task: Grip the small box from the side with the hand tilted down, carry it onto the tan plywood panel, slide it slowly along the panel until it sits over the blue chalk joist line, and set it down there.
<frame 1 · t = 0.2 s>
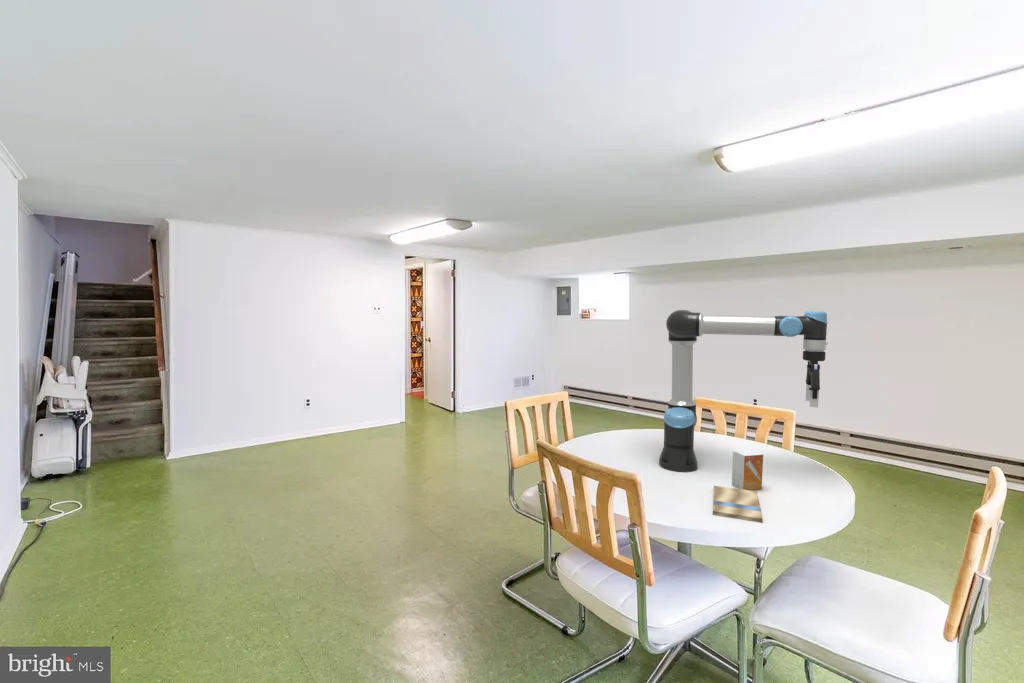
hand: (811, 404, 188), 28 cm above the table, tool pointing down, fingers open, 13 cm apart
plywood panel: (736, 504, 159), on the table
small box: (746, 487, 174), on the table
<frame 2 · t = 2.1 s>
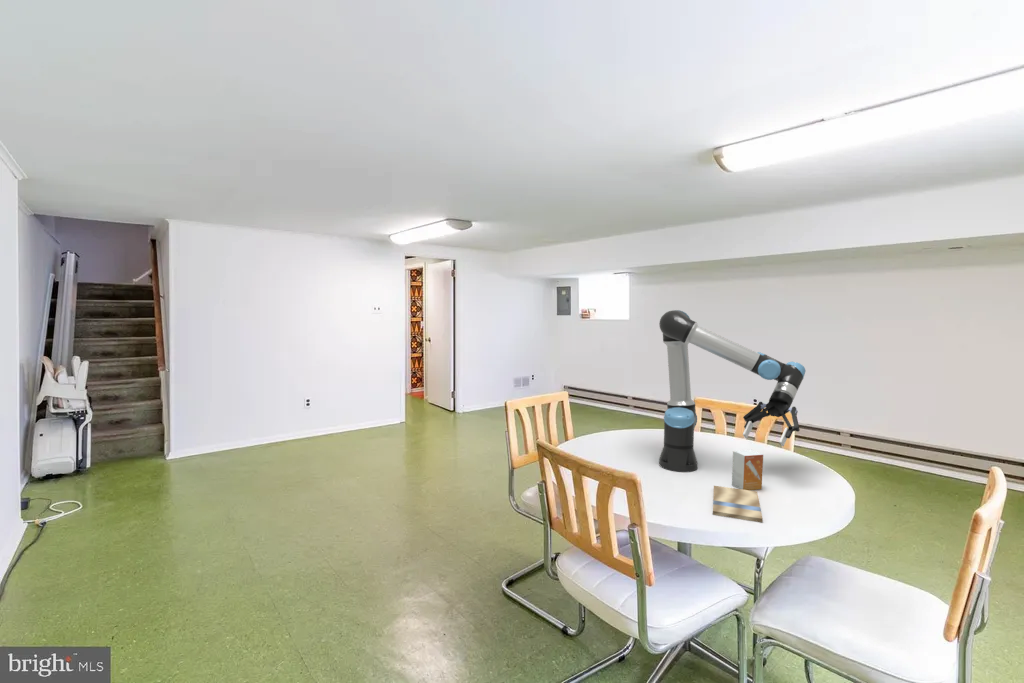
hand: (762, 440, 179), 16 cm above the table, tool tilted 45°, fingers open, 13 cm apart
nothing on the table moved.
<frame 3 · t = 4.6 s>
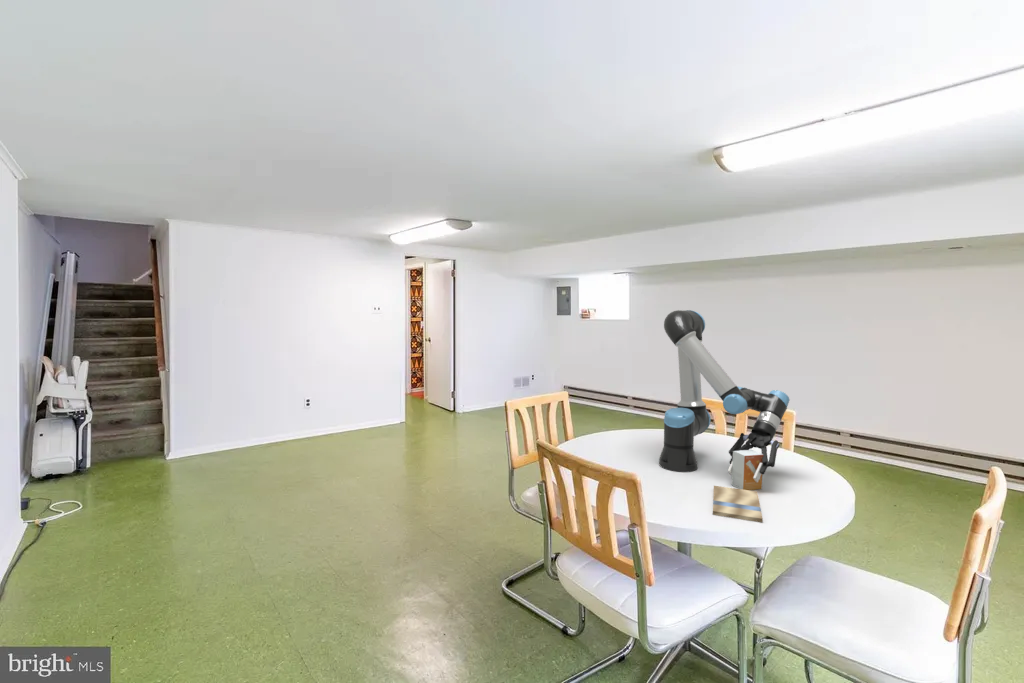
hand: (742, 476, 172), 5 cm above the table, tool tilted 45°, fingers closed on small box, 9 cm apart
small box: (746, 487, 174), on the table, touching gripper
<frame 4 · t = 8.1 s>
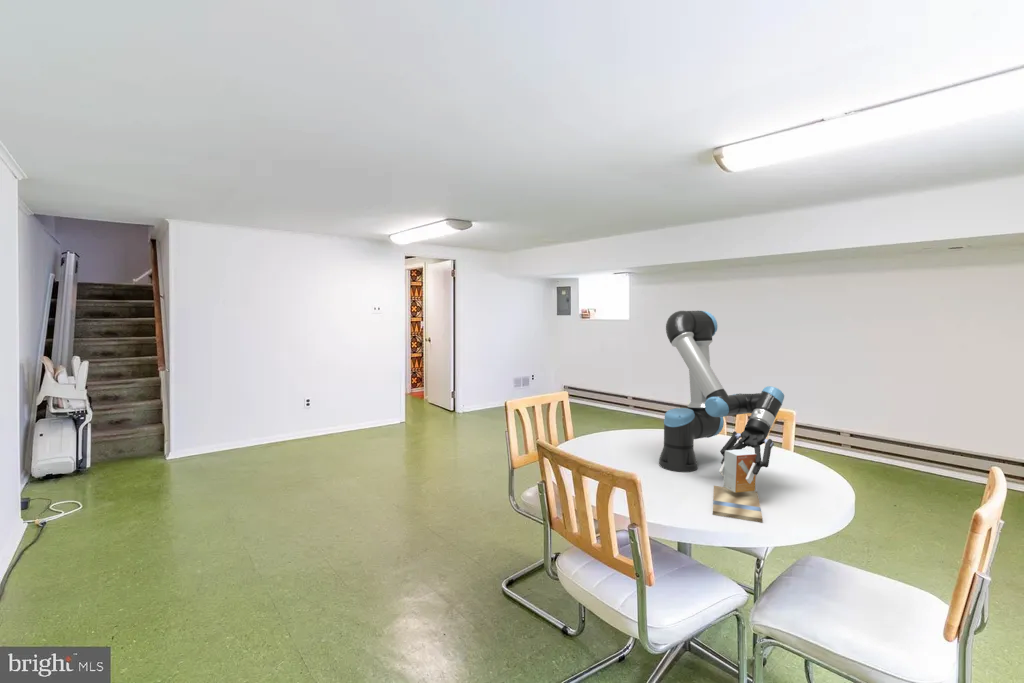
hand: (734, 477, 162), 8 cm above the table, tool tilted 45°, fingers closed on small box, 9 cm apart
small box: (739, 489, 165), point 3 cm above the table, touching gripper
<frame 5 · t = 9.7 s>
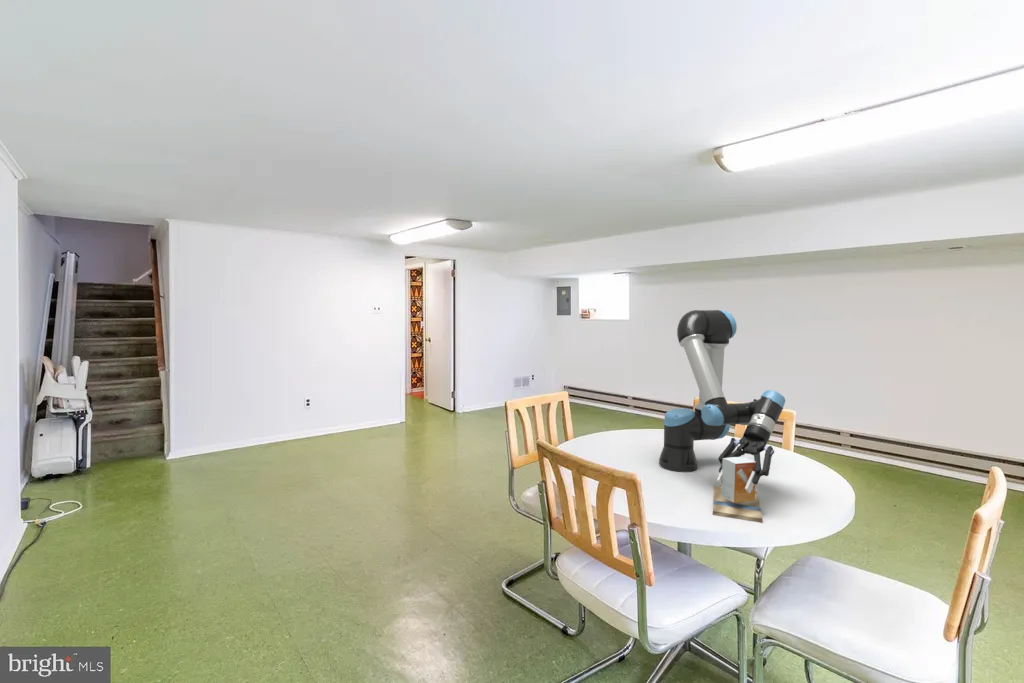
hand: (733, 486, 153), 8 cm above the table, tool tilted 45°, fingers closed on small box, 9 cm apart
small box: (737, 499, 156), point 3 cm above the table, touching gripper
when the fingers open (7 cm above the table, at t = 11.4 s): small box stays where it is, resting on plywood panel.
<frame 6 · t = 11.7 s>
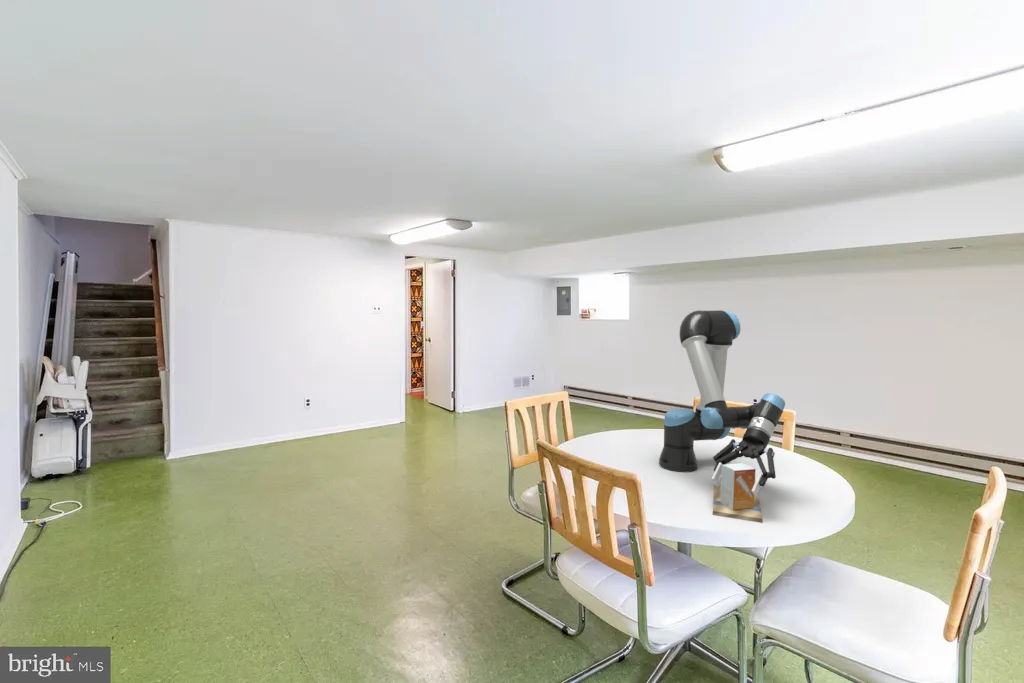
hand: (733, 487, 153), 8 cm above the table, tool tilted 45°, fingers open, 13 cm apart
small box: (736, 506, 155), point 1 cm above the table, touching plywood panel
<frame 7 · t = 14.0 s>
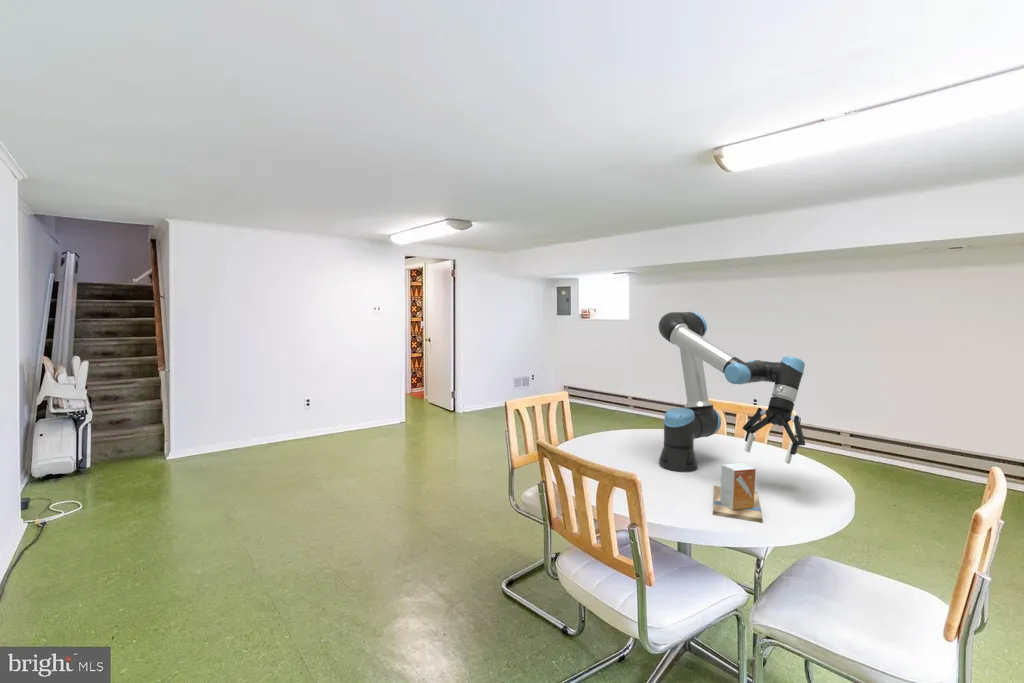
hand: (766, 457, 165), 14 cm above the table, tool tilted 25°, fingers open, 13 cm apart
nothing on the table moved.
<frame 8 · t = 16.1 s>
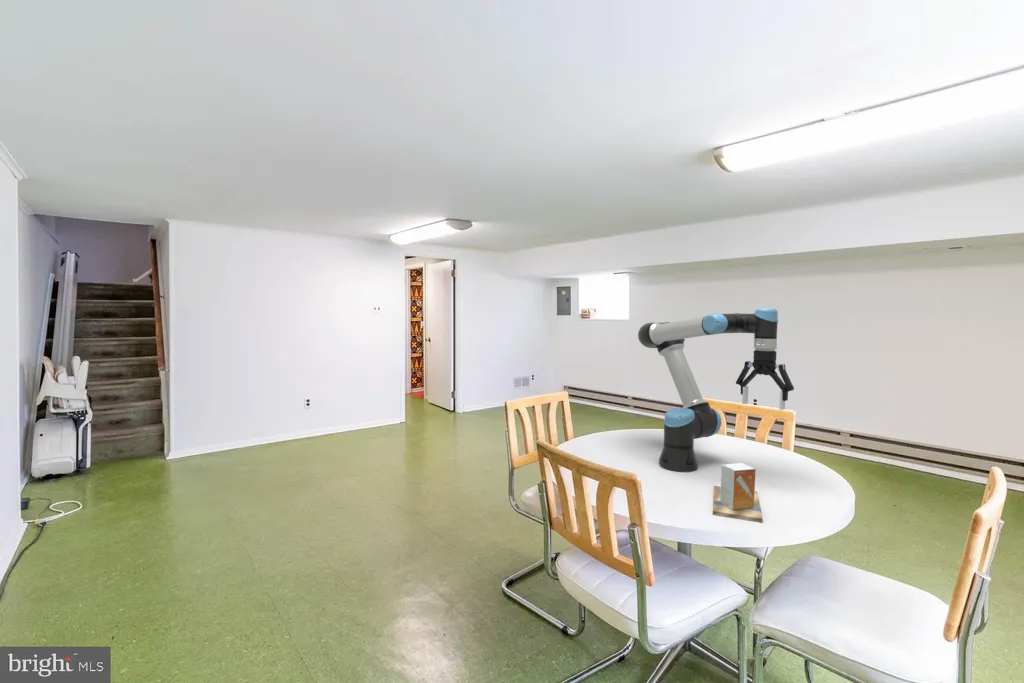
hand: (762, 406, 178), 29 cm above the table, tool pointing down, fingers open, 13 cm apart
nothing on the table moved.
at the end: small box inside the target area (0.1 cm from its centre), point 1.0 cm above the table; small box tilted 0°; the gripper is holding nothing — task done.
